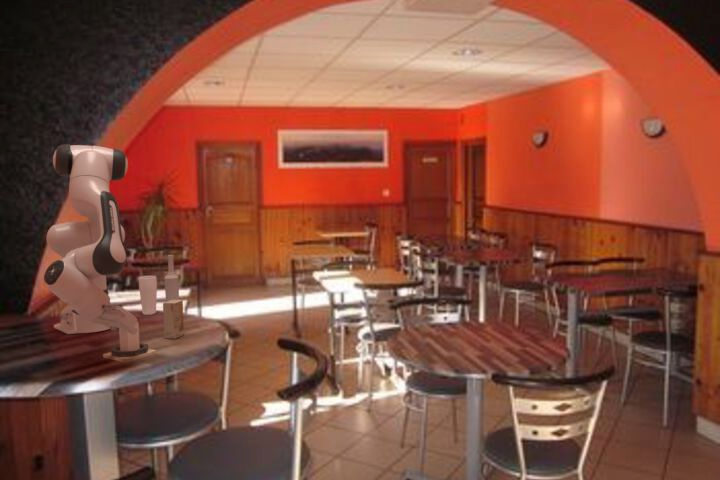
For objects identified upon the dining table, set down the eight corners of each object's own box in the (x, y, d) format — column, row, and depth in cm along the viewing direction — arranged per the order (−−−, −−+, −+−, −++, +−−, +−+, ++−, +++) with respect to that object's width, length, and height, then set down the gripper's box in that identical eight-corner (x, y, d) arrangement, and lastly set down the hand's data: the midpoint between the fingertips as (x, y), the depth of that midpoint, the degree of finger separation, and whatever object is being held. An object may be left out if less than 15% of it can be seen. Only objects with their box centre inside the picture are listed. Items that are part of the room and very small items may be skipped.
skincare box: (175, 339, 200) (173, 303, 199) (163, 338, 201) (162, 303, 200) (184, 334, 207) (183, 299, 205) (173, 333, 207) (171, 299, 206)
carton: (120, 352, 181) (118, 323, 181) (131, 349, 185) (130, 321, 184) (128, 354, 179) (126, 325, 178) (139, 351, 183) (138, 322, 182)
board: (103, 357, 180) (102, 349, 180) (134, 348, 190) (134, 340, 189) (125, 362, 174) (125, 354, 174) (157, 353, 184) (156, 345, 183)
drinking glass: (137, 315, 237) (135, 278, 235) (145, 311, 244) (144, 275, 242) (152, 315, 236) (151, 278, 234) (161, 312, 242) (159, 275, 241)
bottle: (163, 320, 228) (160, 255, 225) (175, 317, 232) (173, 254, 229) (170, 322, 224) (167, 256, 222) (183, 319, 228) (180, 255, 226)
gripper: (122, 298, 167) (153, 325, 176) (79, 292, 178) (111, 317, 187) (109, 317, 163) (141, 343, 173) (66, 309, 175) (98, 335, 184)
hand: (125, 330), depth 180 cm, fingers open, 8 cm apart
